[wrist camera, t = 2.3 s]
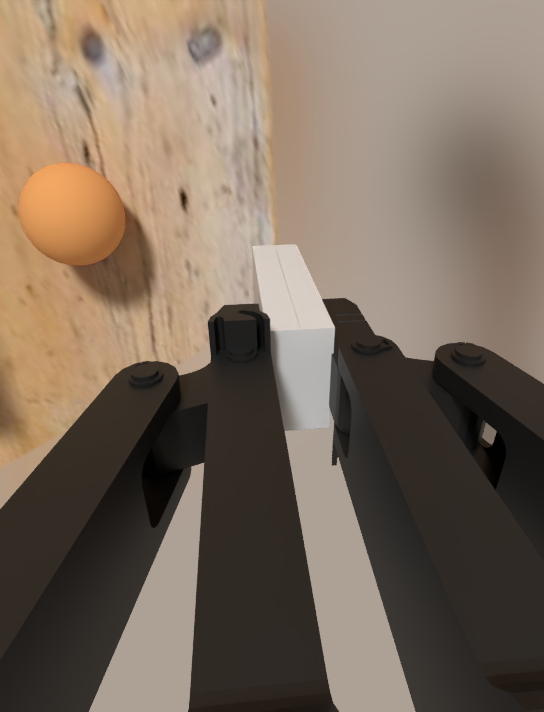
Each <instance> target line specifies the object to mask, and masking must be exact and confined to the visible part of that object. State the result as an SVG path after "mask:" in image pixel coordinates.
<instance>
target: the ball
mask: <svg viewBox="0 0 544 712" xmlns="http://www.w3.org/2000/svg"><path fill="white" fill-rule="evenodd" d="M19 218H20V222H21V225H22V228H23V230H24V232H25V234H26V236H27V237H28V239H29V240H30V241H31V243H32V244H33V245H34V246H35V247H36V248H37V249H38V250H39V251H40V252H42V253H43V254H44V255H46V256H47V257H49V258H51V259H53V260H55V261H57V262H60V263H63V264H67V265H89V264H93V263H96V262H98V261H101V260H102V259H104V258H106V257H107V256H108V255H110V254H111V253H112V252H113V251H114V250H115V249H116V248H117V246H118V245H119V243H120V241H121V239H122V237H123V234H124V230H125V211H124V206H123V203H122V201H121V198H120V196H119V194H118V193H117V191H116V190H115V188H114V187H113V186H112V184H111V183H110V182H109V181H108V180H107V179H106V178H105V177H103V176H102V175H101V174H99V173H98V172H96V171H94V170H93V169H90V168H88V167H85V166H82V165H79V164H73V163H59V164H53V165H49V166H47V167H45V168H42V169H41V170H39V171H38V172H36V173H35V174H34V175H33V176H31V177H30V179H29V180H28V181H27V183H26V184H25V186H24V188H23V189H22V192H21V195H20V199H19Z"/></svg>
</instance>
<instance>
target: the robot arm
mask: <svg viewBox="0 0 544 712" xmlns="http://www.w3.org/2000/svg"><path fill="white" fill-rule="evenodd" d="M252 252H253V278H254V304H239V305H224V306H223V307H222V308H221V309H220V310H219V311H218V312H217V313H216V314H214V315H213V316H211V317H210V319H209V321H208V329H209V340H210V350H211V362H210V363H209V364H208V365H207V366H206V367H204V368H202V369H200V370H198V371H195V372H192V373H188V374H184V375H180V376H179V375H178V372H177V370H176V368H175V367H174V366H172V365H170V364H168V363H164V362H158V361H154V362H150V361H145V362H142V363H140V362H139V363H136V364H133V365H131V366H129V367H127V368H124V369H122V370H121V371H120V372H119V373H117V374H116V375H115V376H114V377H113V379H112V380H111V381H110V382H109V383H108V384H107V386H106V387H105V388H104V389H103V390H102V391H101V393H100V394H99V395H98V396H97V397H96V398H95V400H94V401H93V402H92V403H91V404H90V405H89V407H88V408H87V409H86V410H85V411H84V412H83V414H82V415H81V416H80V417H79V418H78V419H77V421H76V422H75V423H74V424H73V425H72V426H71V428H70V429H69V430H68V431H67V432H66V433H65V435H64V436H63V437H62V438H61V439H60V440H59V442H58V443H57V444H56V445H55V446H54V447H53V449H52V450H51V451H50V452H49V453H48V454H47V456H46V457H45V458H44V459H43V460H42V461H41V463H40V464H39V465H38V466H37V467H36V468H35V470H34V471H33V472H32V473H31V474H30V475H29V477H28V478H27V479H26V480H25V481H24V482H23V484H22V485H21V486H20V487H19V488H18V489H17V490H16V492H15V493H14V494H13V495H12V496H11V497H10V499H9V500H8V501H7V502H6V503H5V505H4V506H3V507H2V508H1V509H0V712H89V710H90V707H91V705H92V703H93V700H94V698H95V696H96V693H97V691H98V689H99V686H100V684H101V682H102V680H103V677H104V675H105V672H106V670H107V668H108V666H109V663H110V661H111V659H112V656H113V654H114V652H115V649H116V647H117V645H118V642H119V640H120V638H121V635H122V633H123V631H124V629H125V626H126V624H127V622H128V619H129V617H130V615H131V612H132V610H133V608H134V605H135V603H136V601H137V598H138V596H139V594H140V591H141V589H142V587H143V584H144V582H145V580H146V577H147V575H148V573H149V571H150V568H151V566H152V564H153V561H154V559H155V557H156V554H157V552H158V550H159V547H160V545H161V543H162V540H163V538H164V536H165V534H166V531H167V529H168V527H169V524H170V522H171V520H172V517H173V515H174V513H175V510H176V508H177V506H178V503H179V501H180V499H181V496H182V494H183V492H184V489H185V487H186V485H187V483H188V480H189V478H190V474H191V466H194V465H198V464H201V463H204V478H203V495H202V511H201V528H200V542H199V560H198V575H197V591H196V608H195V623H194V624H195V625H194V641H193V656H192V672H191V688H190V701H189V710H188V712H339V711H338V709H337V708H336V706H335V705H334V704H333V701H332V697H331V694H330V689H329V684H328V679H327V674H326V668H325V662H324V656H323V651H322V645H321V639H320V633H319V627H318V622H317V616H316V610H315V604H314V599H313V593H312V587H311V581H310V576H309V570H308V564H307V558H306V553H305V547H304V541H303V535H302V529H301V524H300V518H299V512H298V506H297V501H296V495H295V489H294V483H293V478H292V472H291V466H290V460H289V454H288V449H287V443H286V437H285V431H286V430H302V429H317V428H329V426H330V410H331V413H332V416H333V419H334V434H333V451H332V465H337V464H336V463H337V458H338V457H339V461H340V464H341V467H342V470H343V474H344V477H345V480H346V484H347V487H348V490H349V494H350V497H351V500H352V503H353V507H354V510H355V513H356V516H357V520H358V523H359V526H360V530H361V533H362V536H363V540H364V543H365V546H366V549H367V553H368V556H369V559H370V562H371V566H372V569H373V573H374V576H375V579H376V582H377V586H378V589H379V592H380V596H381V599H382V602H383V606H384V609H385V612H386V615H387V619H388V622H389V625H390V629H391V632H392V635H393V638H394V642H395V645H396V648H397V652H398V655H399V658H400V661H401V665H402V668H403V671H404V674H405V678H406V681H407V684H408V688H409V691H410V694H411V698H412V701H413V704H414V707H415V711H416V712H544V384H543V383H541V382H540V381H538V380H537V379H535V378H533V377H532V376H530V375H529V374H527V373H526V372H524V371H522V370H521V369H519V368H518V367H516V366H514V365H513V364H511V363H509V362H508V361H507V360H505V359H503V358H502V357H500V356H499V355H497V354H495V353H494V352H492V351H490V350H488V349H485V348H484V347H480V346H477V345H474V344H472V343H466V344H465V343H463V342H458V343H450V344H446V345H443V346H440V347H439V348H438V349H437V350H436V353H435V358H434V361H428V360H419V359H411V358H406V357H405V356H404V355H403V354H402V352H401V351H400V349H399V348H398V346H397V345H396V344H395V343H394V342H392V341H391V340H389V339H387V338H384V337H382V336H377V335H375V334H374V333H373V331H372V329H371V328H370V326H369V324H368V323H367V321H365V318H364V316H363V315H362V314H361V312H360V310H359V308H358V307H357V305H355V304H354V303H352V302H351V301H349V300H347V299H345V298H337V299H321V297H320V295H319V292H318V290H317V288H316V286H315V284H314V282H313V280H312V278H311V275H310V273H309V271H308V269H307V267H306V265H305V262H304V260H303V258H302V256H301V254H300V252H299V250H298V247H297V245H295V244H294V245H269V246H252ZM486 423H488V424H489V425H490V426H491V427H492V428H494V429H495V430H496V431H497V433H496V436H495V440H494V443H493V444H492V445H491V444H489V443H488V442H486V441H485V440H484V439H483V438H482V435H483V432H484V427H485V424H486Z"/></svg>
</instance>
